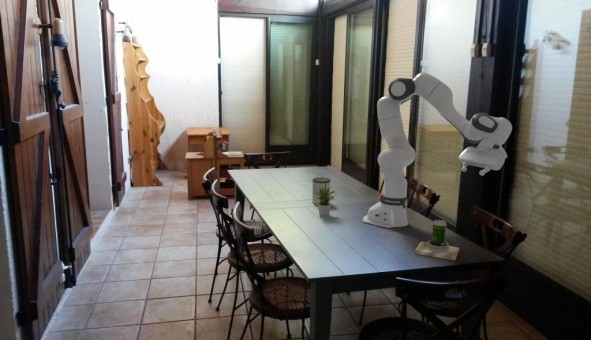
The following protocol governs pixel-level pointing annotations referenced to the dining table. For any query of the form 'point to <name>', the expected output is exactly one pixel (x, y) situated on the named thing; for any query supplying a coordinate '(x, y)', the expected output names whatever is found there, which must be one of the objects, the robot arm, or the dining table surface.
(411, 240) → the dining table surface
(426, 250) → the board
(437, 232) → the beer can
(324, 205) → the house plant
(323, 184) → the glass jar with lid
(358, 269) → the dining table surface
